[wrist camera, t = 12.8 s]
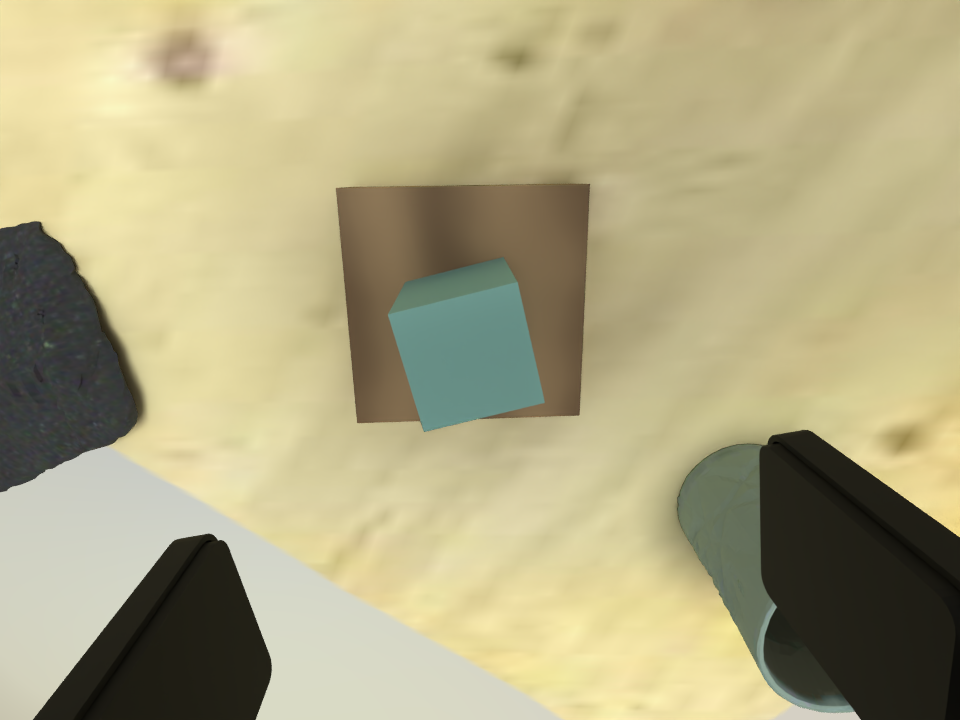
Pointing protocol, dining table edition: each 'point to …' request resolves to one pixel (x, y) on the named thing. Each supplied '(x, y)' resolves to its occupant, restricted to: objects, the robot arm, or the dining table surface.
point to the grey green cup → (749, 574)
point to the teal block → (465, 344)
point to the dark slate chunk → (52, 362)
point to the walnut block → (455, 244)
